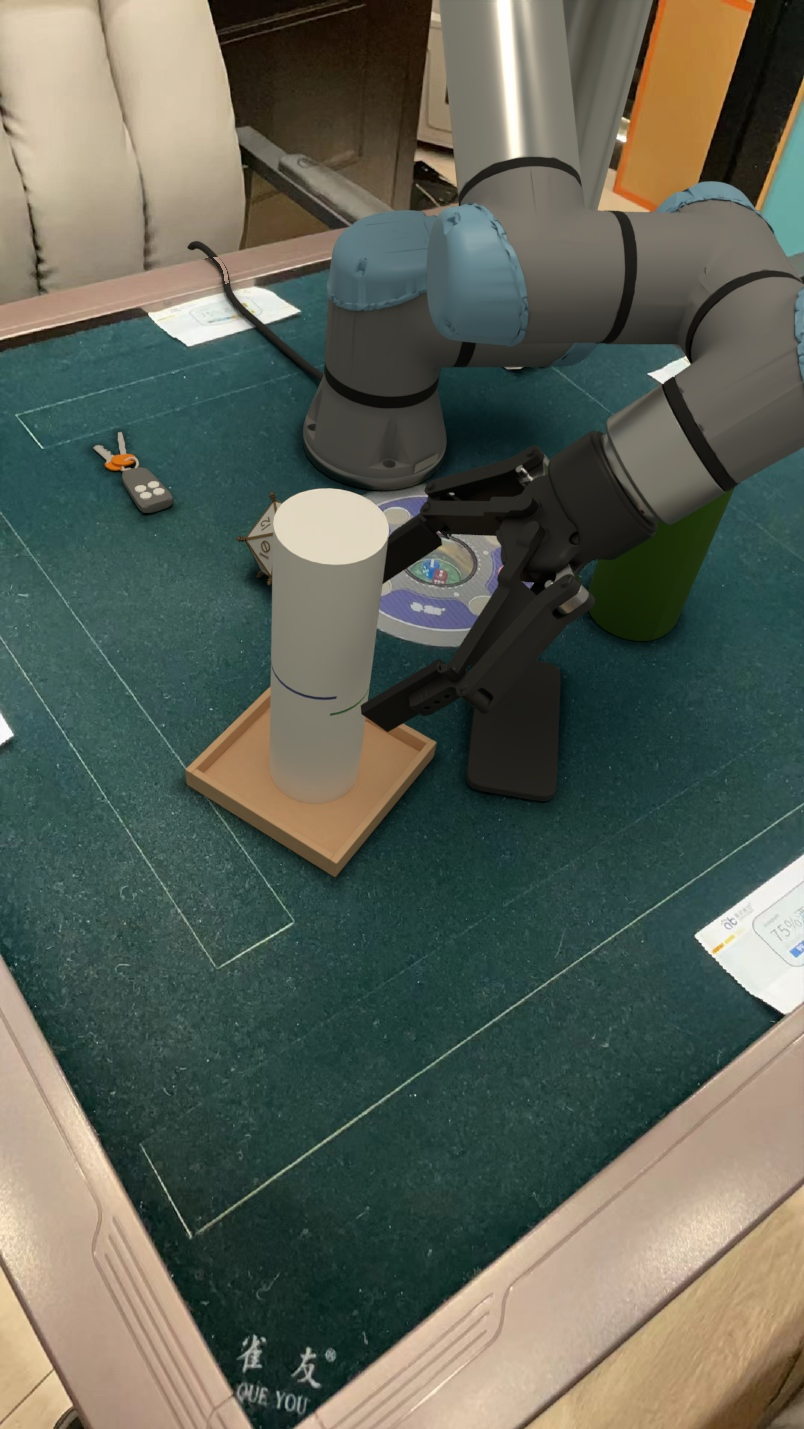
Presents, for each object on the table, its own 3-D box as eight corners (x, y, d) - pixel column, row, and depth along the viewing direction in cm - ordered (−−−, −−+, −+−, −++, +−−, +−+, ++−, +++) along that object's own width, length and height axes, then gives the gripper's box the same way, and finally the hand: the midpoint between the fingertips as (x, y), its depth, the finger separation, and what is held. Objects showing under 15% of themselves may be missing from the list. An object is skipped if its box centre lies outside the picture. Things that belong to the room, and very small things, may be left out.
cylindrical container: (269, 731, 86) (273, 486, 67) (356, 732, 87) (384, 490, 67) (269, 804, 81) (273, 563, 62) (361, 803, 82) (393, 566, 63)
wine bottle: (694, 611, 101) (835, 292, 76) (644, 657, 96) (777, 333, 72) (619, 563, 105) (731, 243, 80) (566, 606, 100) (668, 279, 75)
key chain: (178, 506, 103) (177, 494, 102) (142, 517, 101) (141, 505, 100) (121, 434, 109) (120, 422, 108) (87, 443, 108) (85, 431, 106)
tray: (186, 784, 82) (185, 769, 81) (294, 677, 90) (295, 661, 89) (335, 877, 78) (336, 863, 77) (433, 757, 86) (436, 742, 85)
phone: (562, 664, 94) (557, 798, 84) (560, 670, 94) (554, 804, 84) (480, 650, 94) (465, 783, 84) (478, 657, 94) (463, 789, 84)
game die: (305, 597, 102) (374, 532, 97) (273, 629, 95) (345, 559, 90) (240, 529, 101) (306, 459, 96) (202, 556, 93) (271, 481, 89)
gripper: (714, 658, 59) (417, 812, 68) (617, 398, 74) (387, 553, 84) (650, 587, 54) (340, 763, 63) (562, 326, 70) (324, 498, 79)
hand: (366, 644), depth 74 cm, fingers open, 13 cm apart
